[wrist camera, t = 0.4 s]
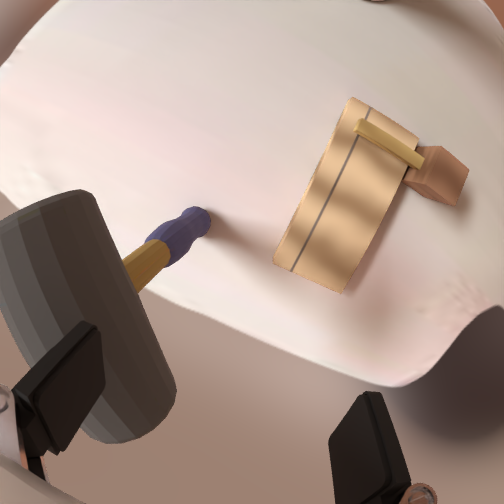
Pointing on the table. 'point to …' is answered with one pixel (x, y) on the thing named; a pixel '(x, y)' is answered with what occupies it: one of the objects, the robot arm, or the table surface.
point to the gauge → (421, 165)
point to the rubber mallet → (93, 301)
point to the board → (343, 201)
